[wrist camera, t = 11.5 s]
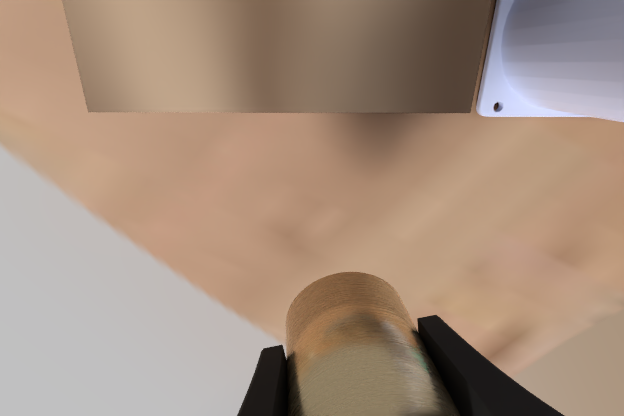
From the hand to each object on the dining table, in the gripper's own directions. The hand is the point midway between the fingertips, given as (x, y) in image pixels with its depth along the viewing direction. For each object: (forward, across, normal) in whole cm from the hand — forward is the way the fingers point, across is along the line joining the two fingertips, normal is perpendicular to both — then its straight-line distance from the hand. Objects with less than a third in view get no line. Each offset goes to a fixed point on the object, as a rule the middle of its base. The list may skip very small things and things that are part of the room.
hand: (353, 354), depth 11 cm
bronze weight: (+2, 0, 0) cm, 2 cm away
